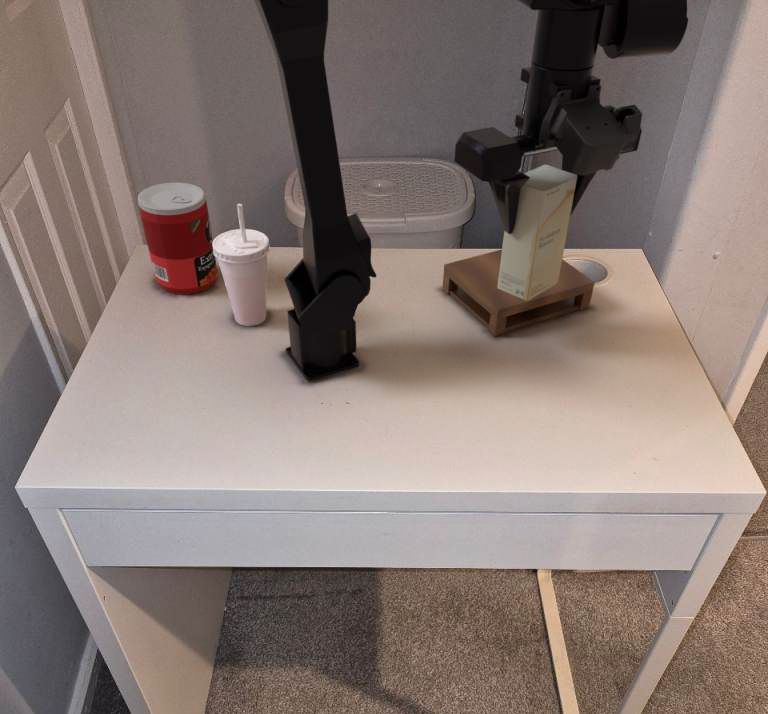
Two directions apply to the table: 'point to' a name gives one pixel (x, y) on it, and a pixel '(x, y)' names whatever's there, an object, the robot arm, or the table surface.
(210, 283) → the canned food
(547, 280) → the cosmetic box
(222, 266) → the smoothie
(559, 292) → the shelf
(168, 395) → the table surface
